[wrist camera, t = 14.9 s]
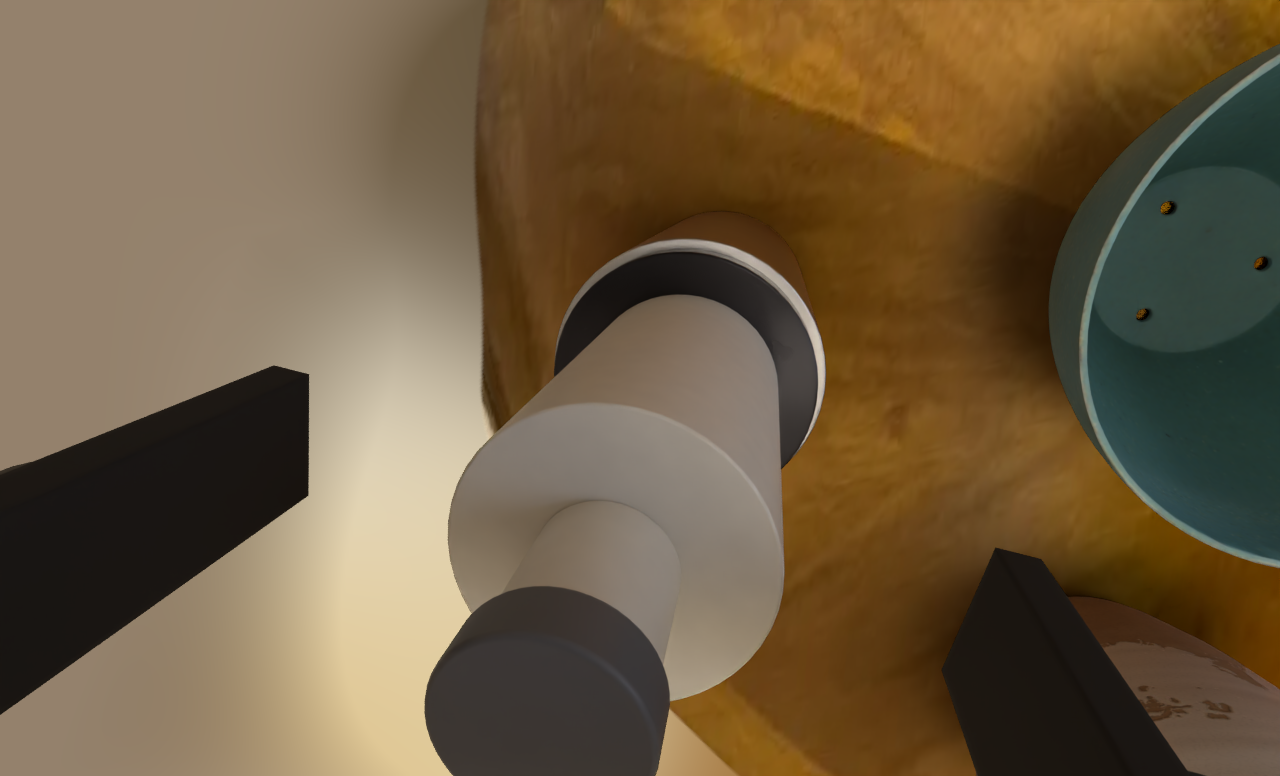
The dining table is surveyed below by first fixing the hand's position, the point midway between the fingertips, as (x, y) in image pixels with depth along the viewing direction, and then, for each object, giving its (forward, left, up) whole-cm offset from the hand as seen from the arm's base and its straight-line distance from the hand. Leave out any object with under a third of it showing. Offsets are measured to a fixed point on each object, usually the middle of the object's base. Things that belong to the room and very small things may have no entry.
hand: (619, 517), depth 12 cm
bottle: (0, 0, -9) cm, 9 cm away
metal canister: (0, 0, -25) cm, 25 cm away
